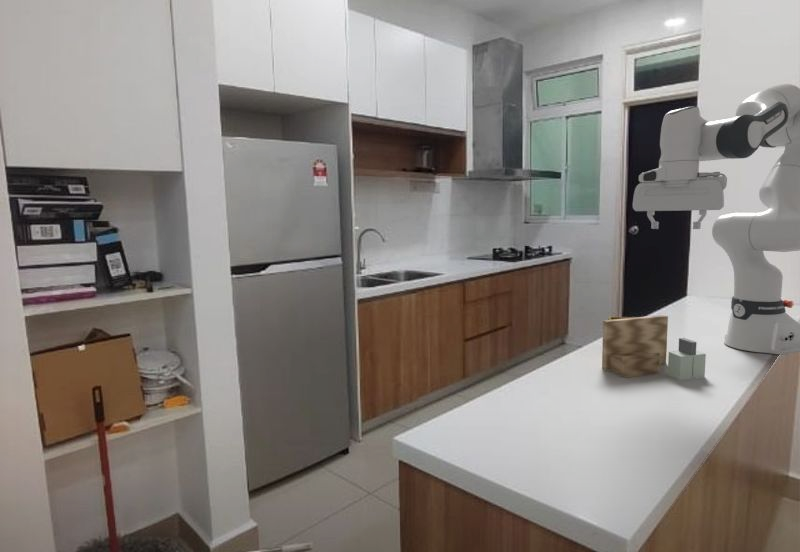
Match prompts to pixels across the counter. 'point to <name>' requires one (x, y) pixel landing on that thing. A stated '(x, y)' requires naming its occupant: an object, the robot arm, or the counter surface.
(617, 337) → the wall board
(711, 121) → the robot arm
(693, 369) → the pale green box
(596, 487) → the counter surface
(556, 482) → the counter surface
